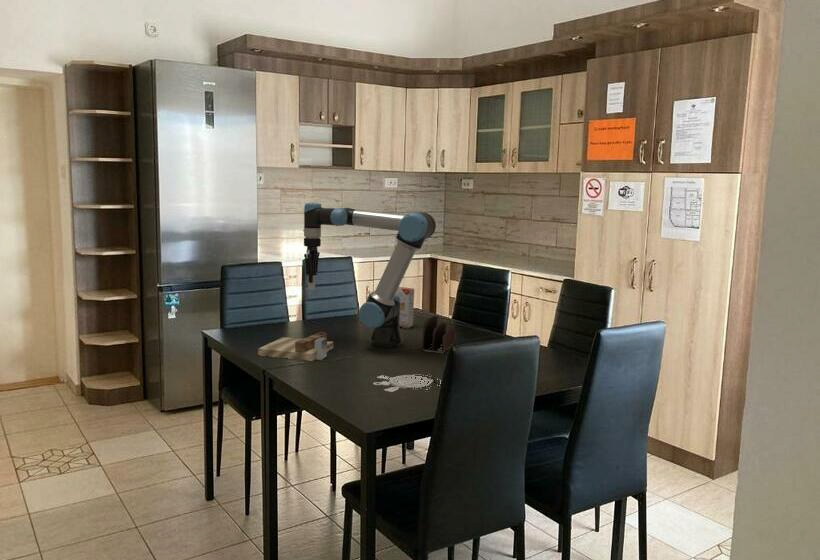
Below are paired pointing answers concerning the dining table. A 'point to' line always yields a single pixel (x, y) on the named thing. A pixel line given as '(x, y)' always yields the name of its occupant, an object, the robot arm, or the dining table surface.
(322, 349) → the stop post
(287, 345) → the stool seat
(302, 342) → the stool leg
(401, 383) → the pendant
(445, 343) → the letter holder
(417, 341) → the dining table surface
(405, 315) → the cracker box
